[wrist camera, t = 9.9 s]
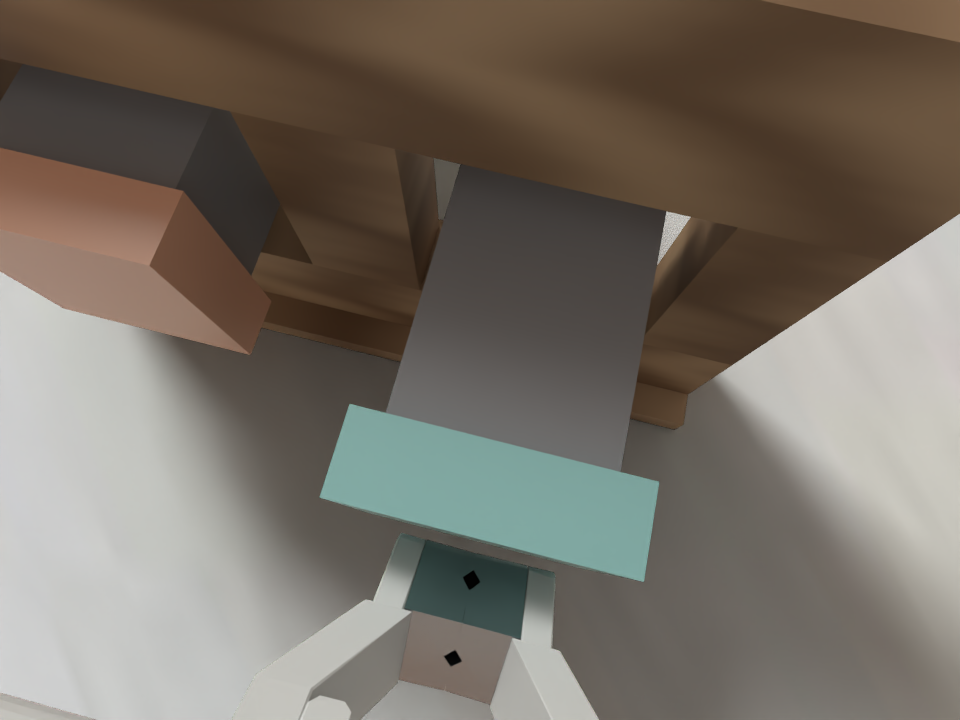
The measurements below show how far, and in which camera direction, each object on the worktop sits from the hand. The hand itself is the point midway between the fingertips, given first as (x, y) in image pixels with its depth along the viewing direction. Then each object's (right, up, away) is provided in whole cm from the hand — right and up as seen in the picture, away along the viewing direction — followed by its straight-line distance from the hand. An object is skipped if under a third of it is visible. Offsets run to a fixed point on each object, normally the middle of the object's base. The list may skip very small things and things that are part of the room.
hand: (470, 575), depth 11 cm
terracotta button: (-7, +9, +5) cm, 12 cm away
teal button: (+1, +4, +4) cm, 5 cm away
